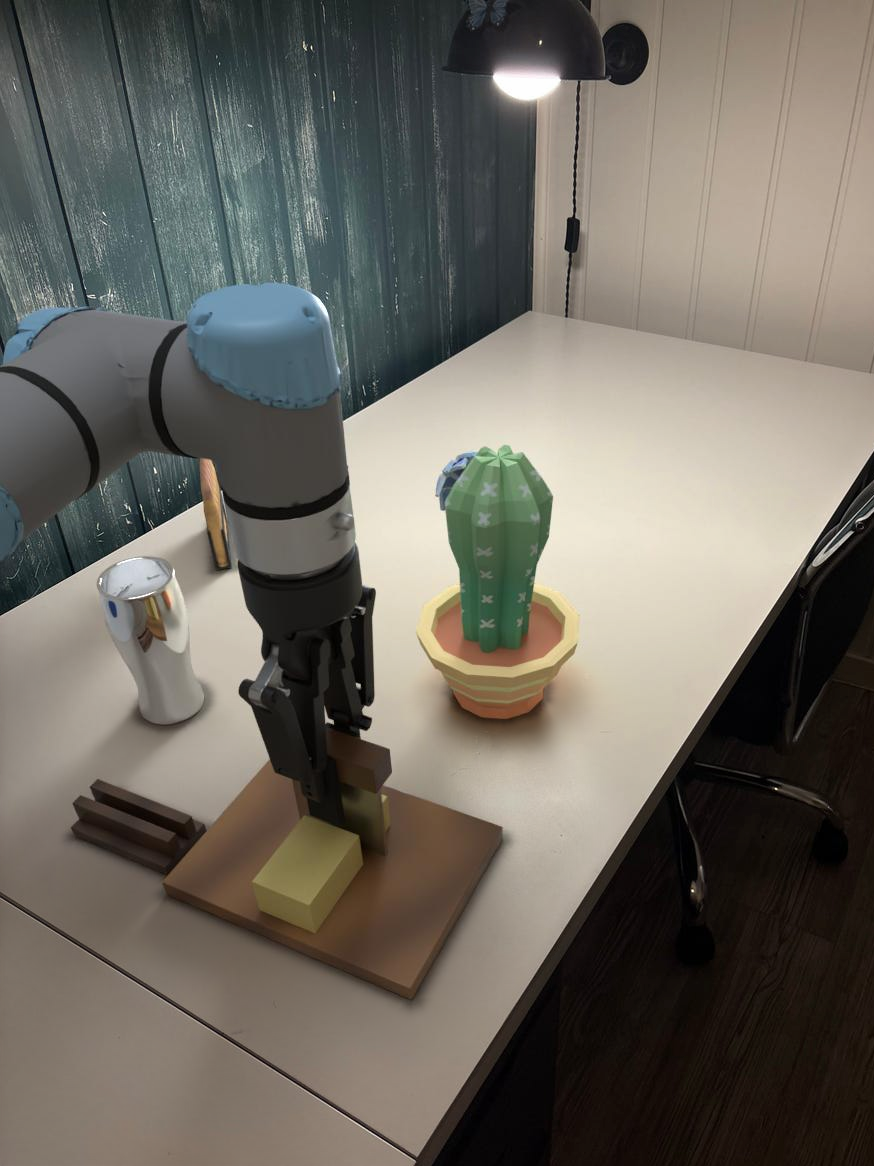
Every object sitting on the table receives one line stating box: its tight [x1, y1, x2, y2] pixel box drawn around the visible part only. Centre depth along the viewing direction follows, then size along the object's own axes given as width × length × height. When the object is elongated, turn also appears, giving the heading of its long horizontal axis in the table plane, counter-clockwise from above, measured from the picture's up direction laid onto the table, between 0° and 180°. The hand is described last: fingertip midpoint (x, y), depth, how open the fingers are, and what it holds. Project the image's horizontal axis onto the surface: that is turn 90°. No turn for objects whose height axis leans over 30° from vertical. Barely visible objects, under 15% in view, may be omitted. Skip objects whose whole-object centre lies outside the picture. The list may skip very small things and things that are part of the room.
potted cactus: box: [415, 444, 581, 720], centre depth 85 cm, size 15×15×25 cm
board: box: [161, 758, 504, 1000], centre depth 76 cm, size 22×16×2 cm
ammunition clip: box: [198, 458, 233, 571], centre depth 110 cm, size 11×2×12 cm, turn 14°
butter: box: [252, 815, 363, 933], centre depth 72 cm, size 5×7×4 cm
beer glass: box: [96, 556, 205, 725], centre depth 87 cm, size 7×7×15 cm
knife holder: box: [70, 778, 207, 876], centre depth 79 cm, size 10×5×3 cm, turn 65°
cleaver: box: [292, 728, 393, 857], centre depth 73 cm, size 9×2×11 cm, turn 65°
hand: (338, 803), depth 74 cm, fingers closed on cleaver, 2 cm apart
